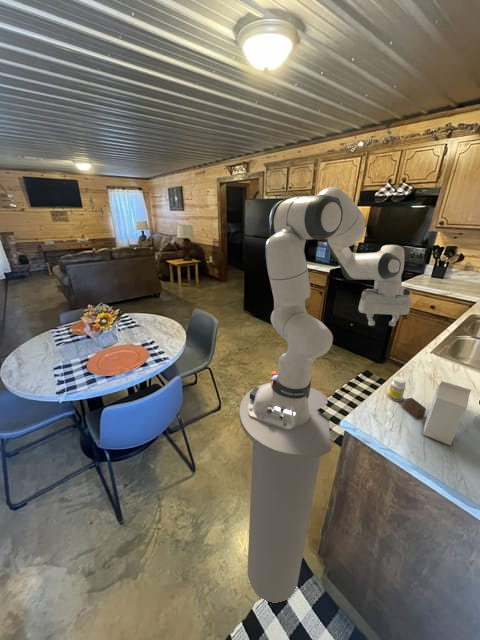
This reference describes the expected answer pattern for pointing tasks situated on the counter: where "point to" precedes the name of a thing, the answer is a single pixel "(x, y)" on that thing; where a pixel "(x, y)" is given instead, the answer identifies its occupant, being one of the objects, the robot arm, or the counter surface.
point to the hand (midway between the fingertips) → (381, 325)
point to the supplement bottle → (397, 389)
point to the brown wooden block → (414, 408)
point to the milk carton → (446, 412)
